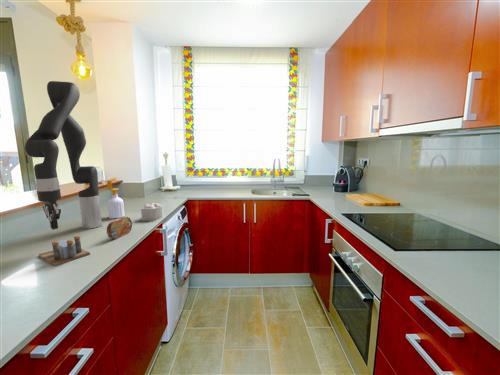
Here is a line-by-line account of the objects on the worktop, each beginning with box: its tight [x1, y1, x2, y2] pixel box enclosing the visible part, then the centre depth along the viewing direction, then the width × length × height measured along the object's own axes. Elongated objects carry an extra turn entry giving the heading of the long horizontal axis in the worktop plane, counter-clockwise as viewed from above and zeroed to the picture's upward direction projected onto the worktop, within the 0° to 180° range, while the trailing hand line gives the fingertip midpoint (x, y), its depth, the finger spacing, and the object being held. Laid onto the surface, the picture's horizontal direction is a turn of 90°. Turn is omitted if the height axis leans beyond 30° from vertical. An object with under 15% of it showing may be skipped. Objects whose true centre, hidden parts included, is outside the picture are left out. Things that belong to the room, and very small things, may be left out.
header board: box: [38, 235, 91, 267], centre depth 101 cm, size 16×12×8 cm
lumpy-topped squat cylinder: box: [140, 202, 163, 222], centre depth 155 cm, size 10×13×9 cm
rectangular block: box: [58, 239, 77, 258], centre depth 100 cm, size 4×9×4 cm, turn 55°
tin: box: [106, 216, 133, 240], centre depth 123 cm, size 15×3×8 cm, turn 168°
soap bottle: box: [106, 177, 126, 219], centre depth 157 cm, size 9×9×25 cm
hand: (54, 228), depth 107 cm, fingers closed
